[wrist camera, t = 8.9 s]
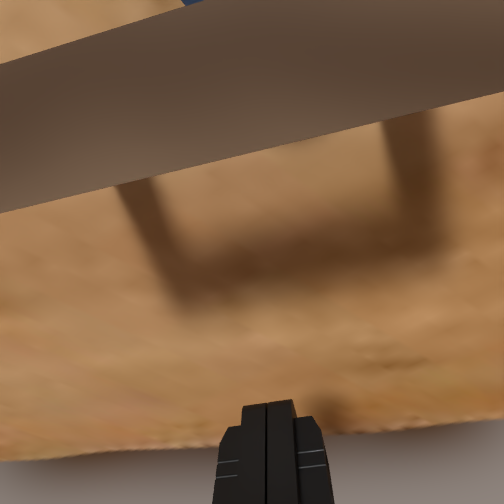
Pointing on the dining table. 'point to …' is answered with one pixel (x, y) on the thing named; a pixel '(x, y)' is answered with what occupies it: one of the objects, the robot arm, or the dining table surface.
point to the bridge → (232, 85)
